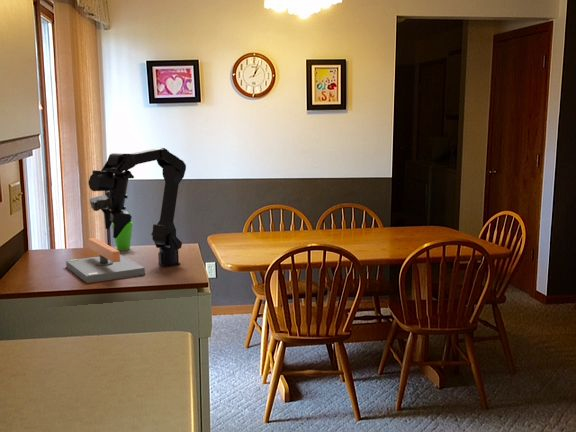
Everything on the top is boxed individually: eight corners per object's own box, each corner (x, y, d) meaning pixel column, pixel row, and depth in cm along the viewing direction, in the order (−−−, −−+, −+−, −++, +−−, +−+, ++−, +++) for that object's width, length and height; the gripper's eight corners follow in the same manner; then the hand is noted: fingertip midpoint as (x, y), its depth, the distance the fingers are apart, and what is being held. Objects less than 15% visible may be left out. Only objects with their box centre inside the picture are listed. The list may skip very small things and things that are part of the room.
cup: (139, 248, 260) (137, 222, 258) (122, 252, 252) (121, 225, 251) (124, 246, 265) (122, 221, 263) (107, 249, 257) (106, 224, 255)
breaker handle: (96, 256, 234) (95, 237, 233) (121, 271, 209) (120, 251, 208) (88, 257, 232) (87, 238, 231) (113, 273, 207) (112, 252, 206)
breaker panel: (119, 259, 238) (119, 252, 238) (144, 274, 215) (144, 266, 214) (66, 267, 227) (65, 259, 227) (87, 283, 204) (86, 274, 204)
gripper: (86, 180, 211) (80, 223, 215) (101, 196, 197) (94, 242, 200) (118, 183, 218) (111, 225, 221) (135, 198, 203) (127, 243, 206)
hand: (110, 233), depth 212 cm, fingers open, 9 cm apart
